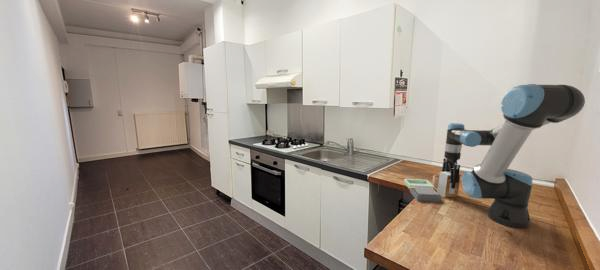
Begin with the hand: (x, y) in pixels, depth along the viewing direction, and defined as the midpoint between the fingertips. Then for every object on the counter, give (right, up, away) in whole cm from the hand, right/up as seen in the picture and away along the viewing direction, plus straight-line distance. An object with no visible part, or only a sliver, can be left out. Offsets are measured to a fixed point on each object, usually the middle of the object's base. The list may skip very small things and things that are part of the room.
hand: (447, 190), depth 139 cm
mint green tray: (-11, 0, +12) cm, 16 cm away
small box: (0, -3, 0) cm, 3 cm away
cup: (+2, 0, +13) cm, 13 cm away
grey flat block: (-14, -3, -2) cm, 15 cm away
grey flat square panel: (-14, 0, -3) cm, 15 cm away
